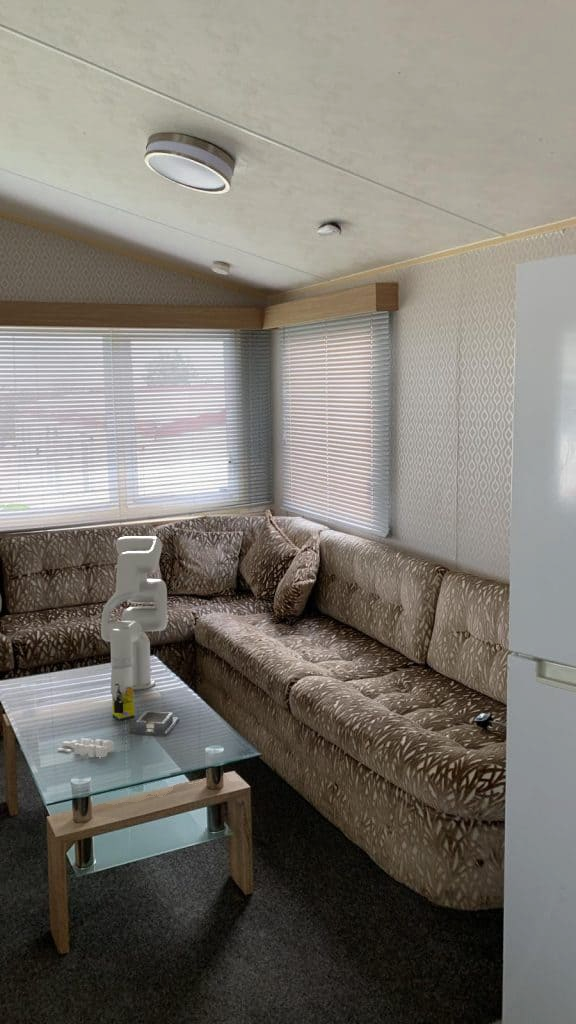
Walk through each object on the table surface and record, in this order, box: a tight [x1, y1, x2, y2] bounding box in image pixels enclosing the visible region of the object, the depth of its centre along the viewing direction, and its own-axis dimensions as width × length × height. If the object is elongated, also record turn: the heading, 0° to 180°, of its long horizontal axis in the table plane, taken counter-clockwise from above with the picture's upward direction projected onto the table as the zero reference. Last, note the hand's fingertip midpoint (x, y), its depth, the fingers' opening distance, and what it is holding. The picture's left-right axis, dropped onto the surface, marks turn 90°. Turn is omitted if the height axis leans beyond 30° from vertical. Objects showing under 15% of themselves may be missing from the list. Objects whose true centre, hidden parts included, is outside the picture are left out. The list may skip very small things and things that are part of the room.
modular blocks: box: [57, 737, 115, 759], centre depth 276 cm, size 20×7×4 cm, turn 75°
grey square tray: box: [129, 710, 180, 736], centre depth 295 cm, size 14×13×4 cm
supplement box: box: [111, 687, 135, 722], centre depth 304 cm, size 6×6×11 cm
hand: (123, 708), depth 304 cm, fingers closed on supplement box, 8 cm apart
